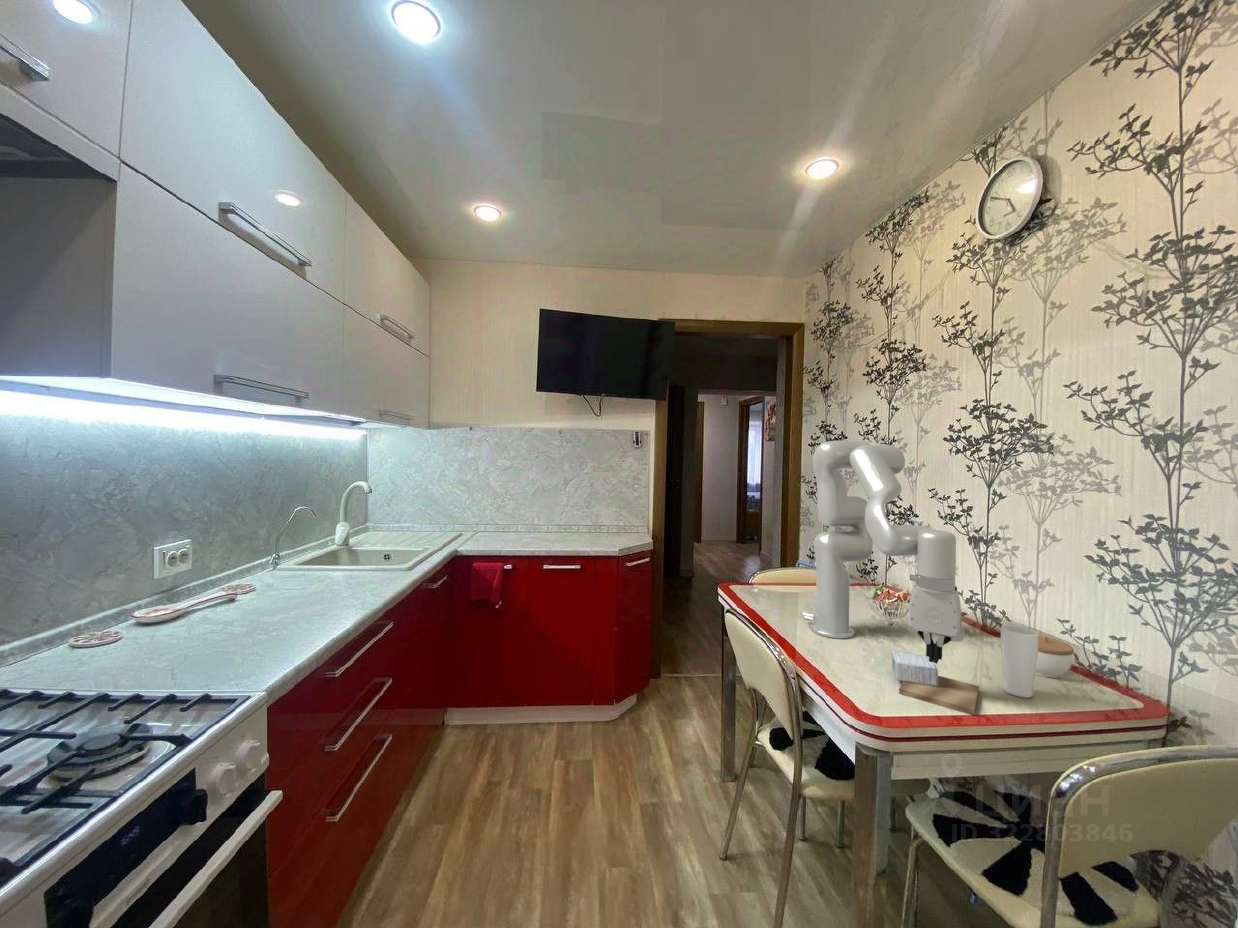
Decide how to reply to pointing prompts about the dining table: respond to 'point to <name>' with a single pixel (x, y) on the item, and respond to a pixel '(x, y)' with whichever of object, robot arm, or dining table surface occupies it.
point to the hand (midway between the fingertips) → (934, 660)
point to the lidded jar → (1053, 657)
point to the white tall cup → (1019, 659)
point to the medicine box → (914, 668)
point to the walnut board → (944, 694)
